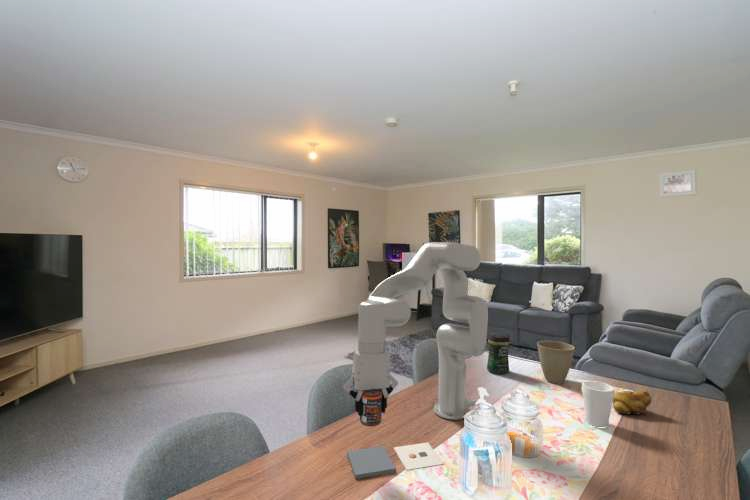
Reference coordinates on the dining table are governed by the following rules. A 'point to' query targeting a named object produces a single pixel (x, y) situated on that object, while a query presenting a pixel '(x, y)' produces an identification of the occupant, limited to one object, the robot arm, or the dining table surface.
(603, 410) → the foam cup
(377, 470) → the place mat
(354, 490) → the dining table surface
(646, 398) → the bread roll
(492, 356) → the coffee jar
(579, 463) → the dining table surface
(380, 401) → the supplement bottle
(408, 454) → the tile
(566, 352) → the plant pot
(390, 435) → the dining table surface
